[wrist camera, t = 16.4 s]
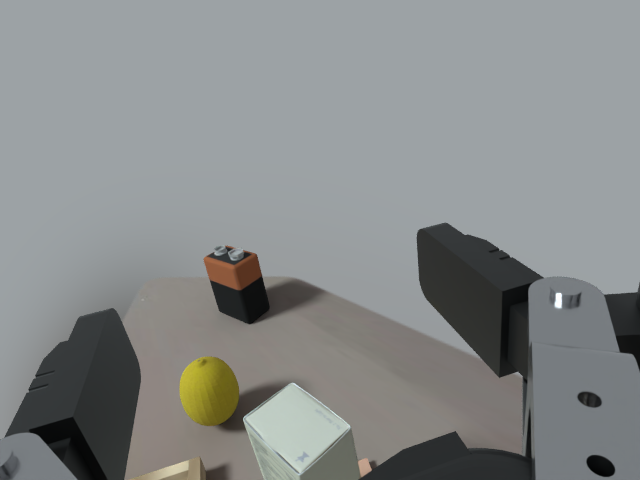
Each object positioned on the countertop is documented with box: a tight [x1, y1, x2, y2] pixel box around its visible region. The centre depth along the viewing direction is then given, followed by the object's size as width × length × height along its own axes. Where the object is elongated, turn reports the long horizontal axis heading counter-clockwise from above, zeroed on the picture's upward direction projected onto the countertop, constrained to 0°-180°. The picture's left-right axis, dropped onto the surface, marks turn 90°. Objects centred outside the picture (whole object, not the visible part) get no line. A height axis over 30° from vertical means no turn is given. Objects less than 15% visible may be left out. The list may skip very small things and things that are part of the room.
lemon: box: [180, 357, 239, 426], centre depth 43 cm, size 6×6×8 cm
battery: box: [204, 246, 270, 324], centre depth 60 cm, size 4×7×10 cm, turn 51°
